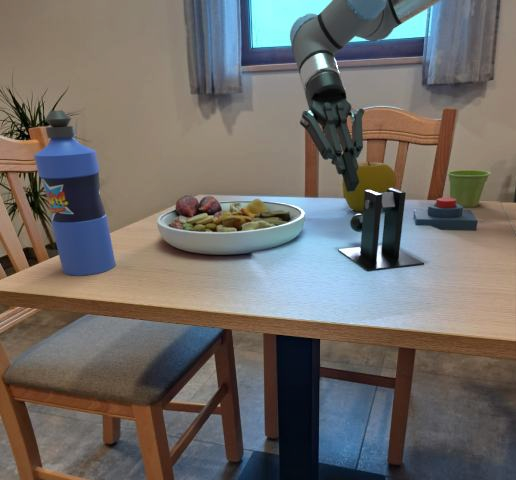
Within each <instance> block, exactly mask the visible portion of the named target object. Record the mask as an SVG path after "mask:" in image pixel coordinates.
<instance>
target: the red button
mask: <svg viewBox="0 0 516 480" xmlns="http://www.w3.org/2000/svg"><path fill="white" fill-rule="evenodd" d="M435 201H436V202H435V203H436V207H439V208H455V207H456V201H457V200H456V199H454V198H450V197H439V198H436V200H435Z"/></svg>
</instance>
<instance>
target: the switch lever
mask: <svg viewBox="0 0 516 480" xmlns="http://www.w3.org/2000/svg"><path fill="white" fill-rule="evenodd" d="M380 194H382V205H381V214H385V213H387V212H388V211H390V210H391V209H392V208H394V207H395V203H394V196H393V192H386V193H380ZM362 221H363V213H356V214H355V215H353V216H352V217H351V219H350V221H349V226H350V228H351V230H352V231H354V232H356V233H362Z"/></svg>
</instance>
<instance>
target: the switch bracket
mask: <svg viewBox="0 0 516 480" xmlns="http://www.w3.org/2000/svg"><path fill="white" fill-rule="evenodd" d="M387 192H393V196H394V203H395V207H394V208H392V209H391V210H390V211H388V212H387V213H384V217H383V218H384V219H383V227H382V229H383V230H382V238H381V239H382V240H381V244H379V237H380V226H381V214H382V213H381V205H382V194H380V193H377V192H374V191H371V190H365V193H364V207H363V212H362V214H363V221H362V231H361V234H360V235H361V237H360V246H358V247H349V248H347V247H346V248H339V249H337V251H338V252H339V253H340V254H342V255H343V256H344V257H346V258H347V259H349V260H350V261H351V262H353V263H354V264H356V265H357V266H358V267H360V268H361V269H363V270H364V271H366V272H374V271H375V272H376V271H383V270H385V271H386V270H392V269H393V270H394V269H401V268H410V267H417V266H418V267H419V266H425V262H423V261H421V260H419V259H417V258H416V257H414V256H412V255H410V254H408V253H406V252H405V251H402V250H401V249H400V248H401V239H402V230H403V221H404V212H405V204H406V194H407V193H406V191H402V190H399V189H397V188H394V189H393V188H389V189H387Z"/></svg>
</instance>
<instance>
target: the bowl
mask: <svg viewBox="0 0 516 480" xmlns="http://www.w3.org/2000/svg"><path fill="white" fill-rule="evenodd" d="M174 207H175V208H174V209H170V210H167V211H165V212H163V213H162V214H160V215H159V216H158V217H157V218H156V226H157V230H158V232H159V234H160V236H161V238H162V239H163V240H164V241H165V242H166V243H168V244H169V245H170V246H172V247H174V248H176V249H179V250H182V251H185V252H187V253H188V252H189V253H193V254H200V255H201V254H203V255H213V256H228V255H229V256H230V255H231V256H233V255H246V254H251V253H252V252H256V251H262V250H263V251H264V250H269V249H273V248H276V247H279V246H282V245H285V244H287V243H289V242H291V241H293V240H294V239H295V238H297V236H298V235H299V234H300V233H301V231H302V230H303V227H304V225H305V221H306V219H305V218H306V215H305V214H306V213H305V211H304V209H302V208H301V207H299V206H296V205H293V204H290V203H285V202H278V201H269V200H261V199H260V198H255V199H252V200H223V201H219V200H217V198H216V197H215V196H213V195H205V196H204V197H202V198H201V199H200V200H198V198H197V197H196V196H193V195H189V194H186V195H183V196H182V197H180V198H179V199H178V200H176V202H175V206H174Z"/></svg>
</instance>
